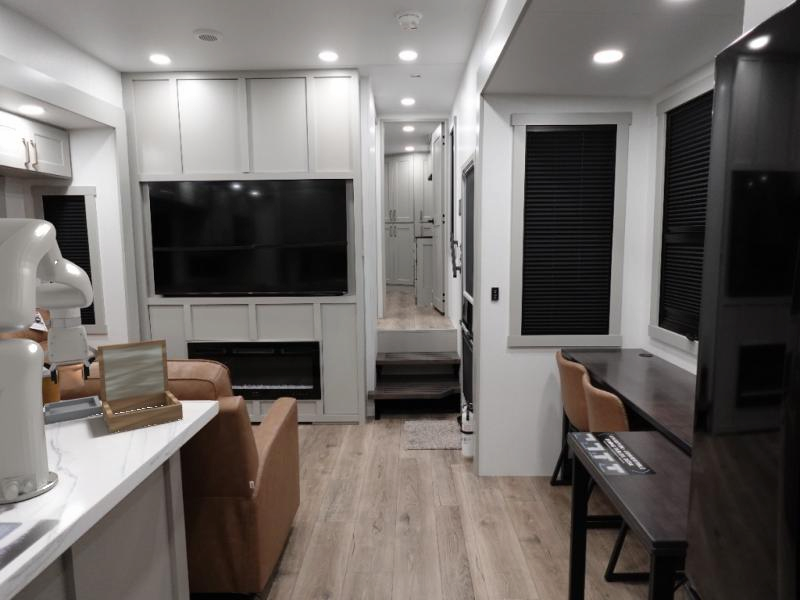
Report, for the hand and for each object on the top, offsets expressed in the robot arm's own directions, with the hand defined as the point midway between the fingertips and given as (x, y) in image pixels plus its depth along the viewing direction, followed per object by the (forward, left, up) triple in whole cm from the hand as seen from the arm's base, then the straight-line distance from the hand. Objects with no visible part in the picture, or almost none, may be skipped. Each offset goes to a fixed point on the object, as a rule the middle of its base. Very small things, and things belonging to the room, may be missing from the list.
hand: (71, 380), depth 151 cm
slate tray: (0, 0, -10) cm, 10 cm away
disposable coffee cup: (+16, +6, -10) cm, 20 cm away
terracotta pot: (0, 0, -2) cm, 2 cm away
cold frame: (-18, -16, -10) cm, 26 cm away
